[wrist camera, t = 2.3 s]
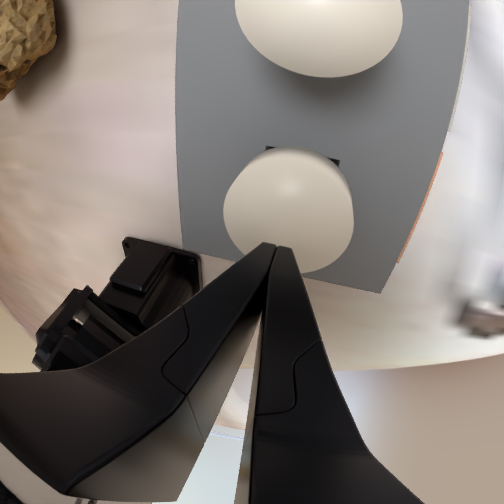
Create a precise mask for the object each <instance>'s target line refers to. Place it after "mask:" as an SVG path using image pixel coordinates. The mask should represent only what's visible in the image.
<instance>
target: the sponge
mask: <svg viewBox="0 0 504 504" xmlns="http://www.w3.org/2000/svg"><path fill="white" fill-rule="evenodd" d="M55 23H56V22H55V16H54V4H53V2H52V0H0V101H1V100H3V99H4V98H5V97H6V95H7V94H8V93H9V92H10V91H11V90H13V89H14V88H15V86H16V83H17V80H18V79H20V78H21V76H23V75H25V74H26V73H28V71H29V69H30V67H31V65H32V64H33V63H34V62H35V61H36V60H37V59H38V58H39V57H40V56H42V55H46V54H47V53H48V52H50V51H51V50H52V49H53V48H54V46H55V44H56V39H57V35H56V34H55V33H56V28H55Z"/></svg>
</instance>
